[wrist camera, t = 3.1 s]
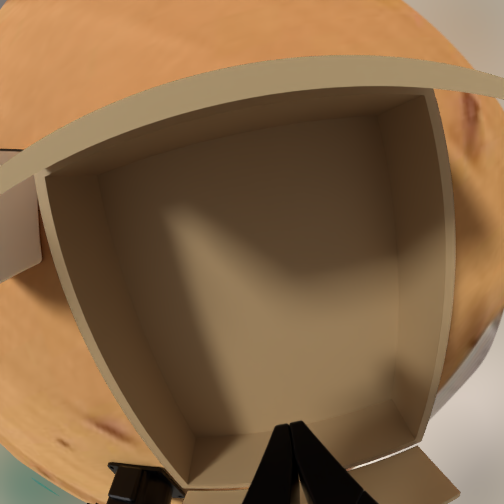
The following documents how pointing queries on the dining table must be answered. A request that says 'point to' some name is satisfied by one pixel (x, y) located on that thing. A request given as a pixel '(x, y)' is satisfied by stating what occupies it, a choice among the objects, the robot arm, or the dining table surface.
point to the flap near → (237, 88)
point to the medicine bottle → (18, 225)
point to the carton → (264, 273)
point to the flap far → (373, 483)
